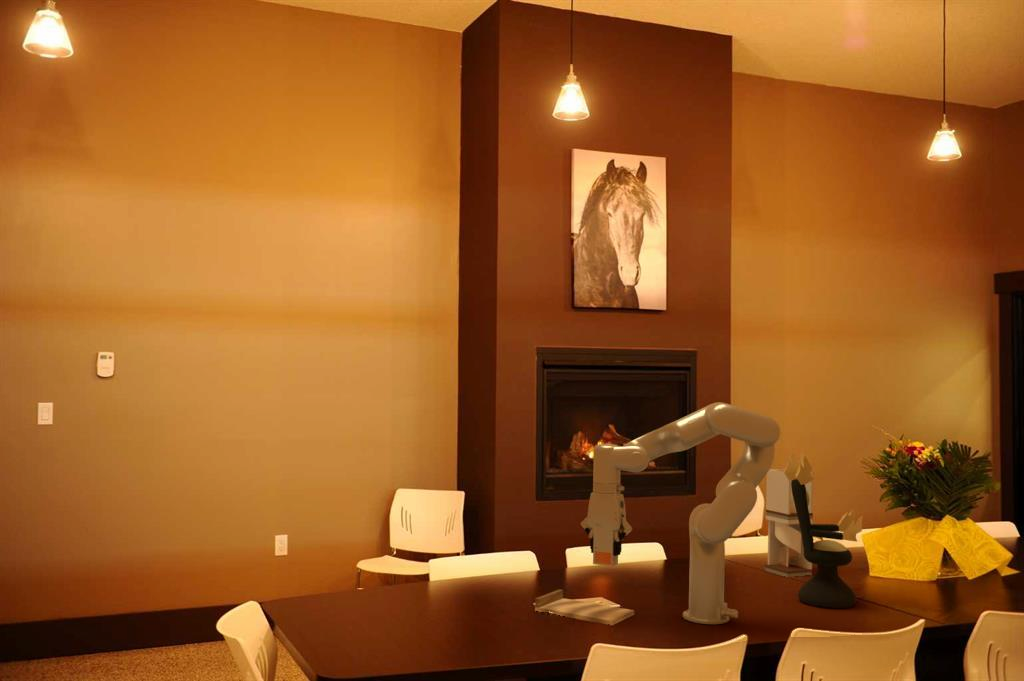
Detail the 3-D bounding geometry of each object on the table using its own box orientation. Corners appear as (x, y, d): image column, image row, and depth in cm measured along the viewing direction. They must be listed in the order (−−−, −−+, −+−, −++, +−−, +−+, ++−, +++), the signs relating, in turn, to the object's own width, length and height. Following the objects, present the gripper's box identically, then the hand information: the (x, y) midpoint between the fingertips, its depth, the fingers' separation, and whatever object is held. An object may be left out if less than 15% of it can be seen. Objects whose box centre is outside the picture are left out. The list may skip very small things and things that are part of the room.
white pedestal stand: (764, 570, 335) (766, 469, 336) (788, 568, 339) (790, 468, 340) (787, 577, 325) (789, 473, 326) (811, 575, 329) (813, 472, 330)
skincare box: (592, 564, 267) (593, 521, 268) (598, 562, 271) (599, 519, 272) (612, 567, 264) (613, 523, 265) (618, 564, 268) (619, 521, 269)
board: (634, 614, 270) (634, 601, 270) (612, 625, 258) (612, 611, 258) (559, 601, 282) (559, 589, 283) (534, 611, 271) (535, 598, 271)
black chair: (863, 613, 279) (866, 456, 280) (784, 607, 283) (786, 453, 284) (854, 598, 297) (856, 451, 298) (779, 592, 302) (782, 448, 303)
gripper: (640, 490, 267) (639, 555, 266) (585, 485, 276) (584, 548, 276) (628, 492, 261) (627, 559, 260) (572, 487, 270) (571, 552, 269)
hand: (605, 553), depth 268 cm, fingers closed on skincare box, 6 cm apart
